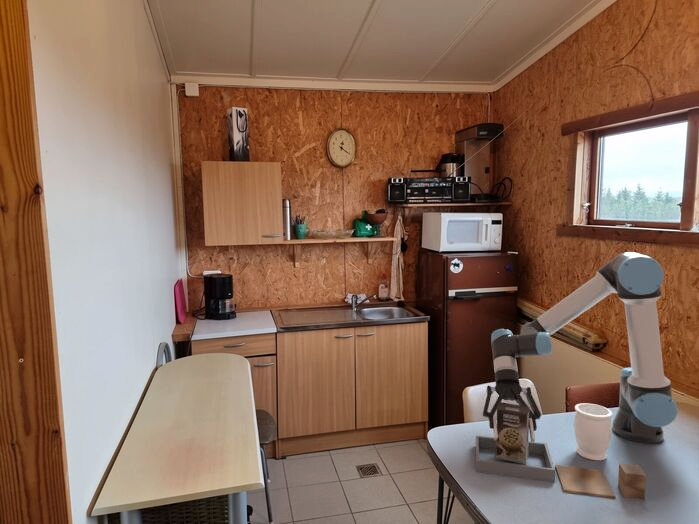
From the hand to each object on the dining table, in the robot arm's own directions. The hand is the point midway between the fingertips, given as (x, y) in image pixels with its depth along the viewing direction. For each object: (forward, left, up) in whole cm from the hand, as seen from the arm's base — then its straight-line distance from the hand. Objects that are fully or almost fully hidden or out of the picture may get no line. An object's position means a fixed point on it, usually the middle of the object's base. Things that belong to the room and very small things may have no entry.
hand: (514, 439), depth 139 cm
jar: (-25, -13, -9) cm, 29 cm away
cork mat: (-19, +4, -8) cm, 21 cm away
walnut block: (-30, +7, -8) cm, 32 cm away
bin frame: (0, -2, -8) cm, 9 cm away
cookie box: (0, -3, -7) cm, 8 cm away
